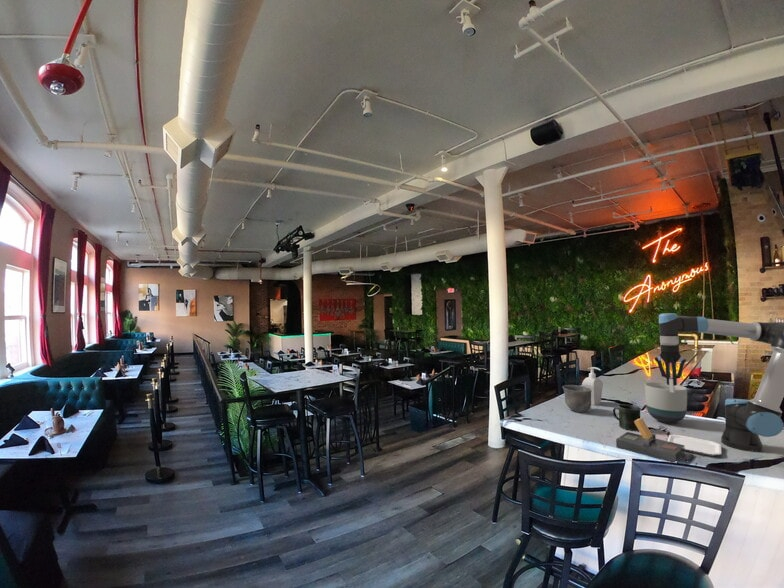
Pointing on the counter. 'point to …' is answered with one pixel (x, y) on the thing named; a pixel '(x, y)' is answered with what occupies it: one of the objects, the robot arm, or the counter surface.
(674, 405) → the planter
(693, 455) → the cord
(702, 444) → the plate
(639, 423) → the lever
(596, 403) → the soap bottle
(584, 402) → the cup
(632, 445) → the panel
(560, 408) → the counter surface
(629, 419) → the mug
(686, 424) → the counter surface
